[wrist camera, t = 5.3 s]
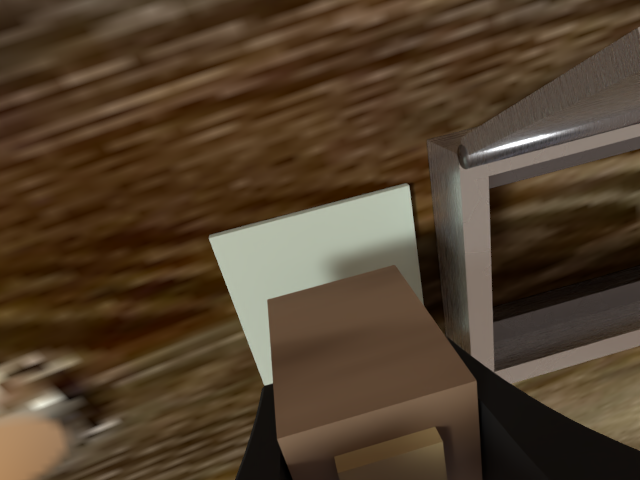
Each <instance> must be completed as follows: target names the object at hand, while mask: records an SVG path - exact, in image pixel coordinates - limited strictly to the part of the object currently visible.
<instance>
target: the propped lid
mask: <svg viewBox="0 0 640 480" xmlns="http://www.w3.org/2000/svg"><path fill="white" fill-rule="evenodd" d="M636 124H640V27H638V28H637V29H635V30H633V31H632V32H630V33H629V34H627V35H625V36H624V37H622V38H621V39H619V40H617V41H616V42H614V43H613V44H611V45H609V46H608V47H606V48H604V49H603V50H601V51H600V52H598V53H596V54H595V55H593V56H592V57H590V58H588V59H587V60H585V61H584V62H582V63H580V64H579V65H577V66H576V67H574V68H572V69H571V70H569V71H568V72H566V73H564V74H563V75H561V76H560V77H558V78H556V79H555V80H553V81H552V82H550V83H548V84H547V85H545V86H543V87H542V88H540V89H539V90H537V91H535V92H534V93H532V94H531V95H529V96H527V97H526V98H524V99H523V100H521V101H519V102H518V103H516V104H515V105H513V106H511V107H510V108H508V109H507V110H505V111H503V112H502V113H500V114H499V115H497V116H495V117H494V118H492V119H491V120H489V121H487V122H486V123H484V124H483V125H481V126H479V127H478V128H476V129H474V130H473V131H471V132H470V133H468V134H466V135H465V136H463V137H462V138H460V139H461V143H462V144H460V145H459V146H458V149H457V156H458V161H459V163H460V165H461V167H462V168H463V169H469V168H473V167H476V166H480V165H484V164H488V163H492V162H495V161H499V160H503V159H507V158H510V157H514V156H518V155H522V154H526V153H529V152H533V151H537V150H541V149H545V148H548V147H552V146H556V145H560V144H564V143H567V142H571V141H575V140H579V139H583V138H586V137H590V136H594V135H598V134H602V133H605V132H609V131H613V130H617V129H621V128H624V127H628V126H632V125H636Z"/></svg>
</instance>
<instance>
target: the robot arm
mask: <svg viewBox="0 0 640 480" xmlns="http://www.w3.org/2000/svg"><path fill="white" fill-rule="evenodd" d="M445 337H446V338H447V339H448V341H449V342H450V344H451V345H452V347H453V348H454V349H455V351H456V352H457V354H458V355H459V356H460V358H461V359H462V361H463V362H464V364H465V365H466V366H467V368H468V369H469V371H470V372H471V374H472V375H473V376H474V378H475V379H476V381H477V397H478V414H479V430H480V447H481V464H482V479H483V480H640V451H639V450H636V449H634V448H631V447H629V446H627V445H624V444H622V443H620V442H618V441H615V440H613V439H611V438H609V437H607V436H604V435H602V434H600V433H598V432H596V431H594V430H591V429H589V428H587V427H585V426H583V425H581V424H579V423H577V422H575V421H573V420H571V419H569V418H567V417H565V416H564V415H562V414H560V413H558V412H556V411H555V410H553V409H551V408H549V407H547V406H546V405H544V404H542V403H540V402H539V401H537V400H535V399H534V398H532V397H531V396H529V395H527V394H526V393H524V392H523V391H521V390H519V389H518V388H516V387H515V386H513V385H512V384H510V383H509V382H507V381H506V380H504V379H503V378H501V377H500V376H499V375H497V374H496V373H494V372H493V371H491V370H490V369H489V368H487V367H486V366H484V365H483V364H482V363H480V362H479V361H478V360H476V359H475V358H474V357H472V356H471V355H470V354H468V353H467V352H466V351H465V350H463V349H462V348H461V347H460V346H458V345H457V344H456V343H455V342H453V341H452V340H451V339H450V338H448V337H447V336H445ZM235 480H293V479H292V476H291V474H290V471H289V469H288V466H287V463H286V461H285V458H284V456H283V453H282V451H281V448H280V445H279V443H278V440H277V432H276V418H275V403H274V389H273V383H272V384H269V385H265V386H264V387H263V389H262V392H261V397H260V402H259V406H258V411H257V415H256V418H255V422H254V426H253V429H252V432H251V435H250V439H249V442H248V445H247V448H246V451H245V454H244V457H243V460H242V463H241V465H240V468H239V471H238V473H237V476H236V479H235Z"/></svg>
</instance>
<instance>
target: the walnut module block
mask: <svg viewBox="0 0 640 480" xmlns="http://www.w3.org/2000/svg"><path fill="white" fill-rule="evenodd" d="M267 305H268V319H269V333H270V347H271V361H272V375H273V389H274V403H275V418H276V432H277V440H278V443H279V445H280V448H281V451H282V453H283V456H284V458H285V461H286V463H287V466H288V469H289V471H290V474H291V476H292V479H293V480H482V464H481V447H480V430H479V414H478V397H477V381H476V379H475V378H474V376H473V375H472V374H471V372H470V371H469V369H468V368H467V366H466V365H465V364H464V362H463V361H462V359H461V358H460V356H459V355H458V354H457V352H456V351H455V349H454V348H453V347H452V345H451V344H450V342H449V341H448V339H447V338H446V337H445V335H444V334H443V332H442V331H441V329H440V328H439V327H438V325H437V324H436V322H435V321H434V320H433V318H432V317H431V315H430V314H429V312H428V311H427V310H426V308H425V307H424V305H423V304H422V302H421V301H420V300H419V298H418V297H417V295H416V294H415V293H414V291H413V290H412V288H411V287H410V285H409V284H408V283H407V281H406V280H405V278H404V277H403V275H402V274H401V273H400V271H399V270H398V268H397V267H396V266H395V265H392V266H388V267H384V268H381V269H377V270H374V271H370V272H366V273H363V274H359V275H355V276H352V277H348V278H344V279H341V280H337V281H333V282H330V283H326V284H323V285H319V286H315V287H312V288H308V289H304V290H301V291H297V292H293V293H290V294H286V295H282V296H279V297H275V298H271V299H268V300H267Z"/></svg>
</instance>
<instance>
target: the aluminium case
mask: <svg viewBox="0 0 640 480" xmlns="http://www.w3.org/2000/svg"><path fill="white" fill-rule="evenodd" d="M476 128H478V127H475V128H471V129H467V130H463V131H459V132H456V133H452V134H448V135H444V136H440V137H436V138H432V139H429V140H427V146H428V157H429V167H430V177H431V188H432V198H433V209H434V219H435V229H436V240H437V250H438V261H439V271H440V281H441V292H442V302H443V312H444V323H445V333H446V336H447V337H448V338H450V339H451V340H452V341H453V342H455V343H456V344H457V345H458V346H460V347H461V348H462V349H463V350H465V351H466V352H467V353H468V354H470V355H471V356H472V357H474V358H475V359H476V360H478V361H479V362H480V363H482V364H483V365H484V366H486V367H487V368H489V369H490V370H491V371H493V372H494V373H496V374H497V375H499V376H500V377H501V378H503V379H504V380H506V381H507V382H509V383H510V384H511V383H515V382H518V381H521V380H525V379H528V378H532V377H535V376H538V375H542V374H545V373H549V372H552V371H555V370H559V369H562V368H566V367H569V366H572V365H576V364H579V363H583V362H586V361H589V360H593V359H596V358H600V357H603V356H606V355H610V354H613V353H617V352H620V351H623V350H627V349H630V348H634V347H637V346H640V266H637V267H633V268H630V269H626V270H622V271H619V272H615V273H612V274H608V275H605V276H601V277H598V278H594V279H591V280H587V281H584V282H580V283H577V284H573V285H570V286H566V287H562V288H559V289H555V290H552V291H548V292H545V293H541V294H538V295H534V296H531V297H527V298H524V299H520V300H517V301H513V302H509V303H506V304H502V305H499V306H495V307H492V274H491V239H490V205H489V189H490V188H494V187H497V186H501V185H505V184H509V183H512V182H516V181H520V180H524V179H527V178H531V177H535V176H539V175H542V174H546V173H550V172H554V171H557V170H561V169H565V168H569V167H572V166H576V165H580V164H584V163H587V162H591V161H595V160H599V159H602V158H606V157H610V156H614V155H617V154H621V153H625V152H629V151H632V150H636V149H640V124H636V125H632V126H628V127H624V128H621V129H617V130H613V131H609V132H605V133H602V134H598V135H594V136H590V137H586V138H583V139H579V140H575V141H571V142H567V143H564V144H560V145H556V146H552V147H548V148H545V149H541V150H537V151H533V152H529V153H526V154H522V155H518V156H514V157H510V158H507V159H503V160H499V161H495V162H492V163H488V164H484V165H480V166H476V167H473V168H469V169H463V168H462V167H461V165H460V163H459V161H458V156H457V149H458V146H459V145H460V144H462V143H461V139H460V138H462V137H463V136H465V135H466V134H468V133H470V132H471V131H473V130H474V129H476Z"/></svg>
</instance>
